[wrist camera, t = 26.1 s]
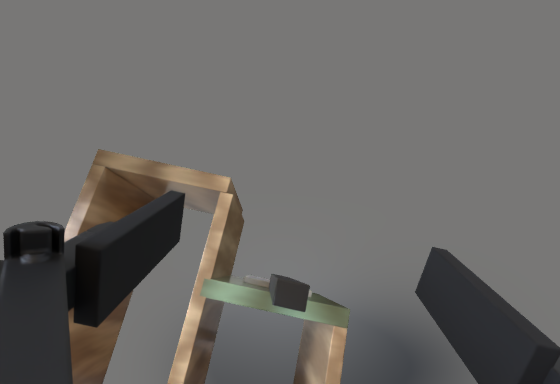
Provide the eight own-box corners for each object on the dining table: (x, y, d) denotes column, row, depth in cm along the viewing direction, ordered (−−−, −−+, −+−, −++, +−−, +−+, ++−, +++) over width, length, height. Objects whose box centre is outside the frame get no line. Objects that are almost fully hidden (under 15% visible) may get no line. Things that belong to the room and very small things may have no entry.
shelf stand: (-77, 570, 18) (98, 148, 26) (74, 437, 33) (157, 191, 41) (304, 654, 18) (363, 206, 26) (286, 483, 33) (328, 228, 41)
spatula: (353, 323, 15) (357, 295, 15) (224, 295, 15) (231, 268, 15) (301, 291, 36) (303, 279, 37) (247, 279, 36) (250, 268, 37)
